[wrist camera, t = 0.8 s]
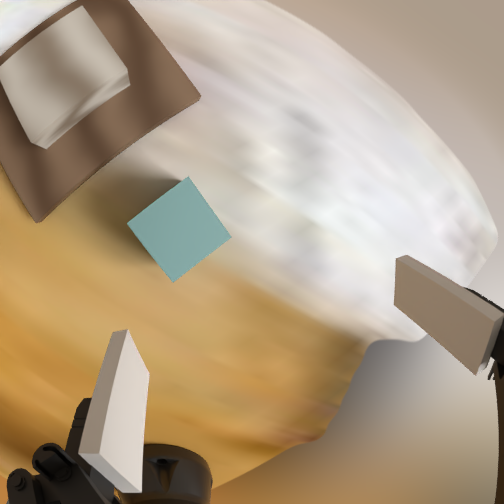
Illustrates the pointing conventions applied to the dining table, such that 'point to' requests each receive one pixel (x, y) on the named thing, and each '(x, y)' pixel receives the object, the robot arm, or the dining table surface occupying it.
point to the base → (105, 121)
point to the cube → (179, 229)
